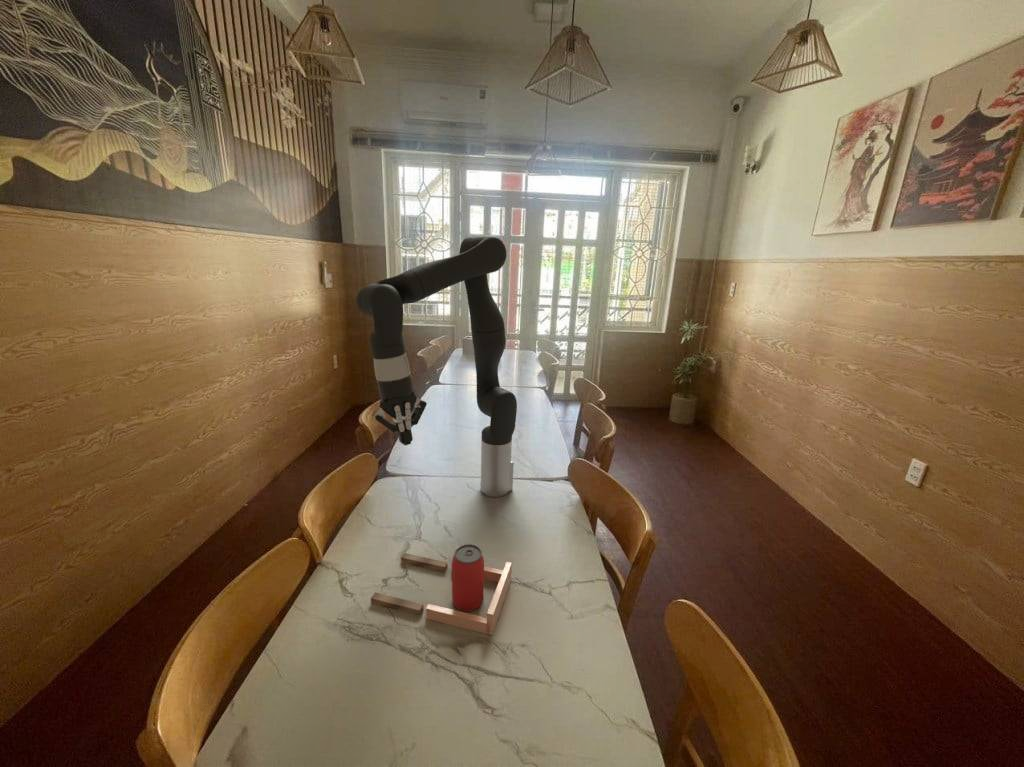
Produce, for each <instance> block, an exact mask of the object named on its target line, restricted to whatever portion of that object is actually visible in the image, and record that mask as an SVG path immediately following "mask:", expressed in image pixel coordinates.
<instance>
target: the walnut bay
mask: <svg viewBox="0 0 1024 767" xmlns="http://www.w3.org/2000/svg"><path fill="white" fill-rule="evenodd" d="M400 561H401V564H406V565H409V566H413V567H414V566H415V567H417V568H418V567H419V568H423V569H428V570H431V571H437V572H440V573H446V571H447V570H448V567H449V566H448V565H449V564H448V562H447V561H443V560H439V559H434V558H430V557H425V556H421V555H417V554H411V553H407V552H403V554H402V556H401V557H400ZM370 604H371V605H373V606H378V607H381V608H386V609H389V610H393V611H398V612H402V613H405V614H410V615H413V616H418V617H421V616H422V614H423V612H424V604H423V603H420V602H417V601H416V602H415V601H411V600H408V599H403V598H400V597H396V596H391V595H388V594H383V593H379V592H374V593H373V594H372V596H371V597H370Z"/></svg>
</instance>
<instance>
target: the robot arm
mask: <svg viewBox="0 0 1024 767" xmlns="http://www.w3.org/2000/svg"><path fill="white" fill-rule="evenodd" d="M458 252H459V254H456V255H453V256H449V257H445V258H442V259H441V258H440V259H437V260H433V261H429V262H426V263H423V264H419V265H418V266H415V267H413V268H411V269H408V270H405V271H404V272H401V273H399V274H397V275H395V276H392V277H387V278H384V279H381V280H378V281H374V282H372V283H369V284H367V285H365V286H363V287H362V288H361V289H360V290H359V291H358V293H357V296H356V306H357V309H358V310H359V311H360V312H361V314H363V315H364V316H367V317H369V318H370V317H371V318H373V328H374V329H373V331H372V332H371V333H370V334H369V345H370V348H371V353H372V358H373V368H374V376H375V379H376V383H377V388H378V393H379V398H380V403H379V407H380V408H379V409H378V410H377V411H376V412H374V413H373V414H372V416H371V417H372V418H373V419H374V420H376V421H377V422H378V423H380V424H381V425H383V426H384V427H385V428H387V429H388V430H389V431H391V432H393V433H395V432H397V435H398V436H397V437H398V442H400V443H401V444H402V445H403V446H406V447H407V446H408V445H411V444H412V441H414V440H413V439H414V438H413V433H412V427H413V426H416V425H418V424H419V421H420V419H421V417H422V415H423V413H424V411H425V409H426V407H427V405H428V404H427V402H426V401H425V400H423V399H419V398H418V396H417V395H416V393H415V392H414V391H415V390H414V383H413V381H412V374H411V369H410V368H411V367H410V363H409V359H408V356H407V353H406V349H405V347H406V346H405V342H404V338H403V337H404V336H403V326H404V305H408V304H414V303H415V304H416V303H417V302H420V301H422V300H423V299H426V298H429V297H430V296H433V295H434V294H437V293H439V292H441V291H443V290H445V289H446V288H449V287H452V286H454V285H456V284H459V283H462V282H464V286H465V291H466V298H467V305H468V311H469V319H470V330H471V331H470V332H471V337H472V338H471V339H472V346H473V352H474V353H473V355H474V362H475V363H474V364H475V373H476V374H475V375H476V376H475V377H476V404H477V407H478V409H479V411H480V412H481V413H483V414H484V415H485V416H487V417H489V418H490V421H489V422H490V423H489V425H488V426H485V427H483V429H482V430H481V441H480V442H481V443H480V444H481V446H480V447H481V448H480V450H481V452H480V491H481V493H482V494H484V495H485V496H488V497H493V498H494V497H495V498H496V497H497V498H498V497H503V496H506V495H508V494H509V492H511V491H513V489H514V488H513V487H514V485H513V483H514V464H515V463H514V461H512V446H513V434H514V432H515V430H516V422H517V411H518V401H517V398H516V396H515V393H513V392H512V391H510V390H507V389H504V388H503V387H501V386H500V381H499V364H500V361H501V360H502V356H503V353H504V352H505V349H506V339H507V338H506V328H505V321H504V318H503V315H502V313H501V311H500V308H499V306H498V305H497V303H496V301H495V300H494V298H493V296H492V294H491V291H490V290H491V289H490V287H489V281H488V274H493V273H496V272H498V271H499V270H500V269H501V268H502V267H503V266H504V265H505V262H506V260H507V249H506V245H505V243H504V242H503V240H502V239H501V238H499V237H497V236H494V235H491V234H489V235H488V234H486V235H484V234H481V235H470V236H466V237H465V238H464V239H463V240H462V241H461V243H460V246H459V251H458ZM385 413H386V414H387V415H388V416H389V417H391V418H392V420H393V422H394V424H392V423H391V422H390V421H389V420H387V419H386V418H387V417H386V414H385Z"/></svg>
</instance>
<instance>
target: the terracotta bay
mask: <svg viewBox="0 0 1024 767" xmlns="http://www.w3.org/2000/svg"><path fill="white" fill-rule="evenodd" d="M512 566H513V563H512V562H508V561H506V562H505V564H504V568H503V569H499V568H494V567H489V566H485V565H484V580H485V581H489V582H494V583H497V586H496V588H495V591H494V593H493V597H492V598H491V601H490V604H489V607H488V610H487V613H486V617H484V616H480V615H476V614H472V613H467V612H465V611H461V610H455V609H452V608H447V607H443V606H438V605H436V604H432V603H431V604H430V603H428V604H427V606H426V608H425V618H426V619H427V620H431V621H433V622H434V621H435V622H438V623H442V624H443V623H444V624H447V625H450V626H451V625H452V626H454V627H459V628H463V629H466V630H470V631H474V632H478V633H481V634H482V633H483V634H484V635H485V634H486V635H490V636H493V634H494V632H495V628H496V626H497V623H498V621H499V620H498V619H499V617H500V613H501V611H502V609H503V608H502V607H503V605H504V602H505V600H506V596H507V594H508V591H509V588H510V584H511V582H512ZM450 569H451V571H452V562H451V568H450Z"/></svg>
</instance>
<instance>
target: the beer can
mask: <svg viewBox="0 0 1024 767" xmlns="http://www.w3.org/2000/svg"><path fill="white" fill-rule="evenodd" d="M451 563H452V570H451V597H452V598H451V600H452V604H453V605H454V606H455V607H456V609H458V610H459V611H461V612H471V611H474V610H476V609H477V608H478V609H479V607H480V606H481V605H482V603H483V601H484V587H485V586H484V585H485V582H484V566H485V557H484V556H483V551H482V549H481V548H480V547H479V546H478V545H475V544H471V543H469V544H461V545H460V546H458V548H456V549H455V551H454V555H453V558H452V561H451Z"/></svg>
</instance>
